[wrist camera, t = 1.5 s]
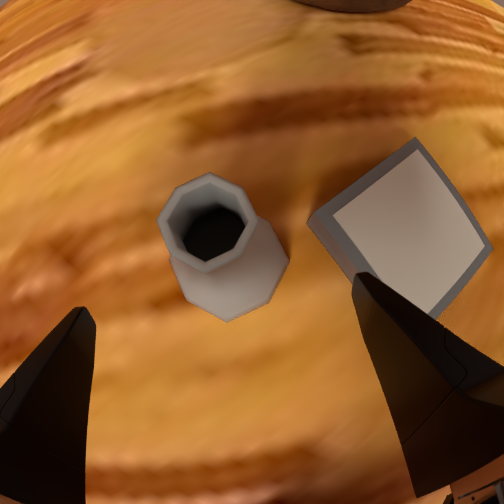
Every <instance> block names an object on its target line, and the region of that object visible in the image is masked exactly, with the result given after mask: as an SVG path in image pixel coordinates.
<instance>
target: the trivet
mask: <svg viewBox="0 0 504 504" xmlns="http://www.w3.org/2000/svg"><path fill="white" fill-rule="evenodd" d="M306 224H307V225H308V226H309V227H310V229H311V230H312V231H313V233H314V234H315V235H316V236H317V238H318V239H319V240H320V242H321V243H322V244H323V246H324V247H325V248H326V249H327V251H328V252H329V253H330V255H331V256H332V257H333V259H334V260H335V261H336V263H337V264H338V265H339V267H340V268H341V269H342V271H343V272H344V273H345V275H346V276H347V278H348V279H349V280H350V282H351V283H352V284H353V281H354V275H355V274H356V273H358V272H364V271H367V272H369V273H371V274H372V275H374V276H375V277H376V278H378V279H379V280H381V281H382V282H384V283H385V284H386V285H388V286H389V287H391V288H392V289H393V290H395V291H396V292H398V293H399V294H400V295H402V296H403V297H405V298H406V299H407V300H409V301H410V302H412V303H413V304H414V305H416V306H417V307H419V308H420V309H421V310H423V311H424V312H425V313H427V314H428V315H429V316H431V317H432V318H433V319H435V320H436V319H437V318H438V316H439V315H440V314H441V313H442V312H443V311H444V310H445V309H446V308H447V306H448V305H449V304H450V303H451V302H452V301H453V300H454V298H455V297H456V296H457V295H458V294H459V292H460V291H461V290H462V289H463V288H464V286H465V285H466V284H467V283H468V282H469V280H470V279H471V278H472V277H473V275H474V274H475V273H476V271H477V270H478V269H479V268H480V266H481V265H482V264H483V262H484V261H485V260H486V258H487V257H488V255H489V254H490V253H491V251H492V250H493V247H492V245H491V244H490V242H489V240H488V238H487V237H486V235H485V233H484V232H483V230H482V228H481V227H480V225H479V223H478V222H477V220H476V218H475V217H474V215H473V214H472V212H471V211H470V209H469V208H468V206H467V204H466V203H465V201H464V200H463V199H462V197H461V196H460V194H459V193H458V191H457V190H456V188H455V187H454V186H453V184H452V183H451V181H450V180H449V179H448V177H447V176H446V175H445V173H444V172H443V171H442V169H441V168H440V167H439V165H438V164H437V163H436V161H435V160H434V159H433V158H432V156H431V155H430V154H429V153H428V151H427V150H426V149H425V148H424V146H423V145H422V144H421V143H420V142H419V140H418V139H417V138H416V137H414V138H413V139H412V140H410V141H409V142H408V143H406V144H405V145H404V146H402V147H401V148H400V149H398V150H397V151H396V152H394V153H393V154H392V155H390V156H389V157H388V158H386V159H385V160H384V161H382V162H381V163H380V164H378V165H377V166H376V167H374V168H373V169H372V170H370V171H369V172H368V173H366V174H365V175H364V176H362V177H361V178H359V179H358V180H357V181H355V182H354V183H353V184H351V185H350V186H349V187H347V188H346V189H345V190H343V191H342V192H341V193H339V194H338V195H337V196H335V197H334V198H333V199H331V200H330V201H328V202H327V203H326V204H324V205H323V206H322V207H320V208H319V209H318V210H316V211H315V212H314V213H313V214H312V216H311V217H310V219H309V220H308V222H307V223H306Z"/></svg>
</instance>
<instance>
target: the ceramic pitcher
mask: <svg viewBox="0 0 504 504" xmlns="http://www.w3.org/2000/svg"><path fill="white" fill-rule="evenodd" d="M295 1H297V2H301V3H305V4H310V5H314V6H319V7H322V8H325V9H331V10H337V11H346V12H374V11H388V10H394V9H397V8H399V7H402V6H404V5H406V4H407V3H409V2H410V1H412V0H295Z"/></svg>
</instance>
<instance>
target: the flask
mask: <svg viewBox="0 0 504 504" xmlns="http://www.w3.org/2000/svg"><path fill="white" fill-rule="evenodd" d="M156 221H157V223H158V226H159V228H160V231H161V233H162V236H163V238H164V241H165V243H166V246H167V248H168V250H169V253H170V255H171V256H170V258H169V261H170V263H171V266H172V268H173V271H174V273H175V275H176V278H177V280H178V282H179V284H180V287H181V289H182V291H183V294H184V296H185V298H186V300H187V301H188V302H190V303H192V304H194V305H196V306H197V307H199V308H201V309H203V310H205V311H206V312H208V313H210V314H212V315H214V316H216V317H217V318H219V319H221V320H223V321H225V322H229V321H231V320H234V319H236V318H238V317H240V316H242V315H244V314H246V313H249V312H251V311H253V310H255V309H257V308H259V307H261V306H263V305H265V304H268V303H269V302H270V300H271V298H272V296H273V294H274V292H275V290H276V288H277V286H278V284H279V282H280V280H281V278H282V276H283V275H284V273H285V271H286V269H287V267H288V265H289V263H290V261H289V259H288V257H287V255H286V253H285V251H284V249H283V247H282V245H281V243H280V241H279V239H278V237H277V235H276V233H275V231H274V229H273V227H272V225H271V223H270V222H269V221H267V220H265V219H263V218H261V217H259V216H257V215H256V213H255V211H254V209H253V207H252V205H251V203H250V201H249V199H248V197H247V195H246V193H245V191H244V189H243V187H241V186H238V185H236V184H234V183H232V182H230V181H228V180H226V179H224V178H222V177H219V176H217V175H215V174H213V173H211V172H208V173H206V174H204V175H202V176H200V177H197V178H195V179H193V180H191V181H189V182H187V183H185V184H182V185H180V186H178V187H176V188H175V189H174V191H173V193H172V194H171V196H170V198H169V199H168V201H167V203H166V204H165V206H164V208H163V210H162V211H161V213H160V215H159V216H158V218H157V220H156Z"/></svg>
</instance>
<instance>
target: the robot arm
mask: <svg viewBox="0 0 504 504" xmlns="http://www.w3.org/2000/svg"><path fill="white" fill-rule="evenodd" d="M352 299H353V303H354V306H355V310H356V313H357V317H358V321H359V324H360V328H361V332H362V335H363V339H364V341H365V344H366V347H367V349H368V352H369V354H370V357H371V360H372V362H373V365H374V368H375V370H376V373H377V376H378V379H379V381H380V384H381V387H382V390H383V392H384V395H385V398H386V401H387V404H388V407H389V410H390V413H391V416H392V419H393V422H394V425H395V428H396V431H397V434H398V437H399V440H400V443H401V445H402V446H401V447H402V450H403V453H404V457H405V460H406V463H407V467H408V470H409V474H410V477H411V481H412V484H413V488H414V492H415V495H416V498H419V497H422V496H424V495H427V494H429V493H431V492H434V491H436V490H438V489H440V488H443V487H445V486H447V485H450V488H451V491H452V493H451V494H449V495H447V496H446V498H445V500H444V502H443V504H504V366H502V365H500V364H499V363H497V362H496V361H494V360H492V359H491V358H489V357H488V356H486V355H485V354H483V353H481V352H480V351H478V350H477V349H475V348H474V347H472V346H471V345H469V344H468V343H466V342H465V341H463V340H462V339H461V338H459V337H458V336H456V335H455V334H454V333H452V332H451V331H450V330H448V329H447V328H444V326H443V325H442V324H440V323H439V322H438V321H436V320H435V319H433V318H432V317H431V316H429V315H428V314H427V313H425V312H424V311H423V310H421V309H420V308H419V307H417V306H416V305H414V304H413V303H412V302H410V301H409V300H407V299H406V298H405V297H403V296H402V295H400V294H399V293H398V292H396V291H395V290H393V289H392V288H391V287H389V286H388V285H386V284H385V283H384V282H382V281H381V280H379V279H378V278H376V277H375V276H374V275H372V274H371V273H369V272H367V271H364V272H358V273H356V274H355V275H354V281H353V287H352ZM95 340H96V324H95V321H94V320H93V318H92V316H91V315H90V313H89V311H88V310H87V308H86V307H84V306H82V307H75V308H73V309H72V310H71V311H70V312H69V313H68V314H67V315H66V316H65V317H64V319H63V320H62V321H61V322H60V323H59V324H58V325H57V326H56V327H55V328H54V329H53V330H52V331H51V332H50V333H49V334H48V335H47V336H46V337H45V339H44V340H43V341H42V342H41V343H40V344H39V345H38V346H37V347H36V348H35V349H34V350H33V352H32V353H31V354H30V355H29V356H28V357H27V358H26V359H25V361H24V362H23V363H22V364H21V365H20V366H19V367H18V369H17V370H16V371H15V373H13V374H12V375H11V377H10V378H9V379H8V380H7V381H6V382H5V384H4V385H3V386H2V387H1V388H0V504H86V500H85V462H86V439H87V425H88V413H89V403H90V394H91V386H92V378H93V370H94V357H95Z"/></svg>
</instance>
